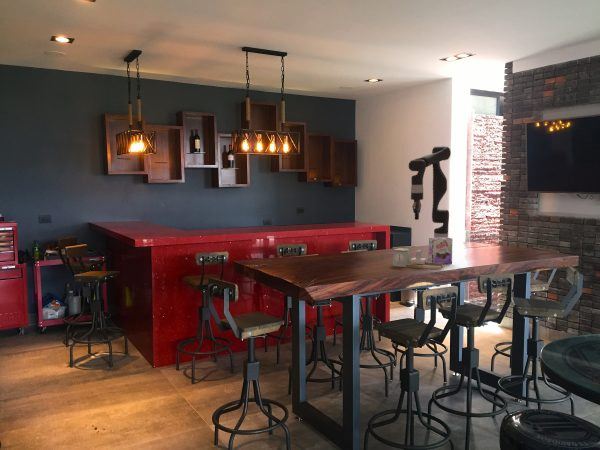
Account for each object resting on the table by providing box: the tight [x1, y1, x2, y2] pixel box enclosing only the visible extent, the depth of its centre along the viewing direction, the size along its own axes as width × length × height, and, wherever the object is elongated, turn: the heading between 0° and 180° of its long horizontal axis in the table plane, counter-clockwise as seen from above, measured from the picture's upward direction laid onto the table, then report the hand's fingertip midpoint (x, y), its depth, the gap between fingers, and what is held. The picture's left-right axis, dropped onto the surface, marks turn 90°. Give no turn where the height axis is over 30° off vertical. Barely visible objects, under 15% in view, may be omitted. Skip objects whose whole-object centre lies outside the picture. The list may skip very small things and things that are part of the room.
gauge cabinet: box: [392, 247, 411, 268], centre depth 313 cm, size 10×8×10 cm
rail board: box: [405, 260, 444, 270], centre depth 308 cm, size 10×20×3 cm, turn 63°
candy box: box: [427, 237, 453, 265], centre depth 321 cm, size 14×6×16 cm, turn 101°
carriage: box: [410, 249, 428, 264], centre depth 309 cm, size 8×8×8 cm
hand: (416, 219), depth 317 cm, fingers closed
